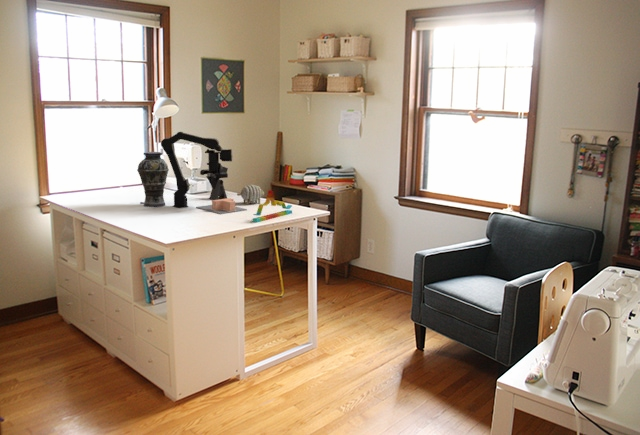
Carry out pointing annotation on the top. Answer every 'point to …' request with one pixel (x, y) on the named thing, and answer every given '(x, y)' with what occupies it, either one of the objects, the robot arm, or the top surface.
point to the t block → (223, 204)
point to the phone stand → (218, 191)
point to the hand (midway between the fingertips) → (214, 188)
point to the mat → (209, 208)
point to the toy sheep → (251, 194)
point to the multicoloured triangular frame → (273, 203)
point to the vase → (153, 178)
